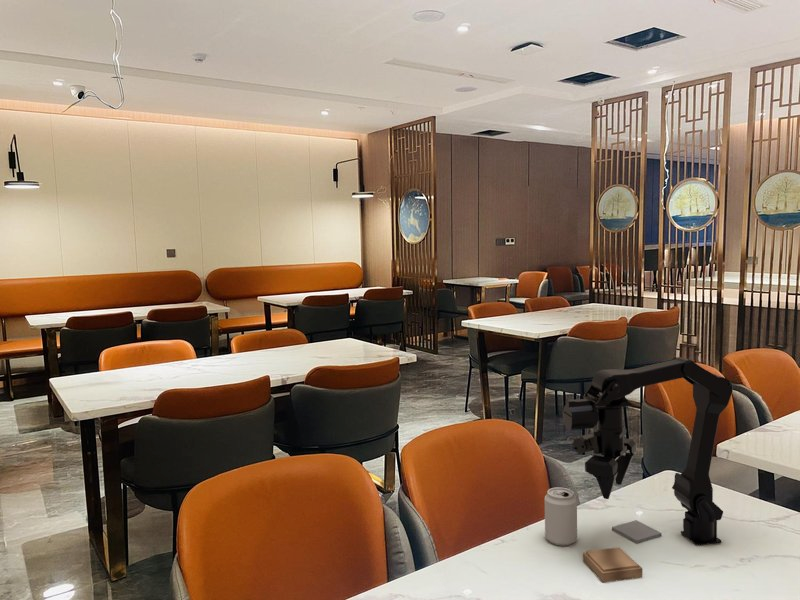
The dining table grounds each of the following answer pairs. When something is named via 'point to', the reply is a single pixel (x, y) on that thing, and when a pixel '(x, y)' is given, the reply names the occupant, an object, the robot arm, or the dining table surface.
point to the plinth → (612, 564)
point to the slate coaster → (636, 531)
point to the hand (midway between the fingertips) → (612, 491)
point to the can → (561, 516)
